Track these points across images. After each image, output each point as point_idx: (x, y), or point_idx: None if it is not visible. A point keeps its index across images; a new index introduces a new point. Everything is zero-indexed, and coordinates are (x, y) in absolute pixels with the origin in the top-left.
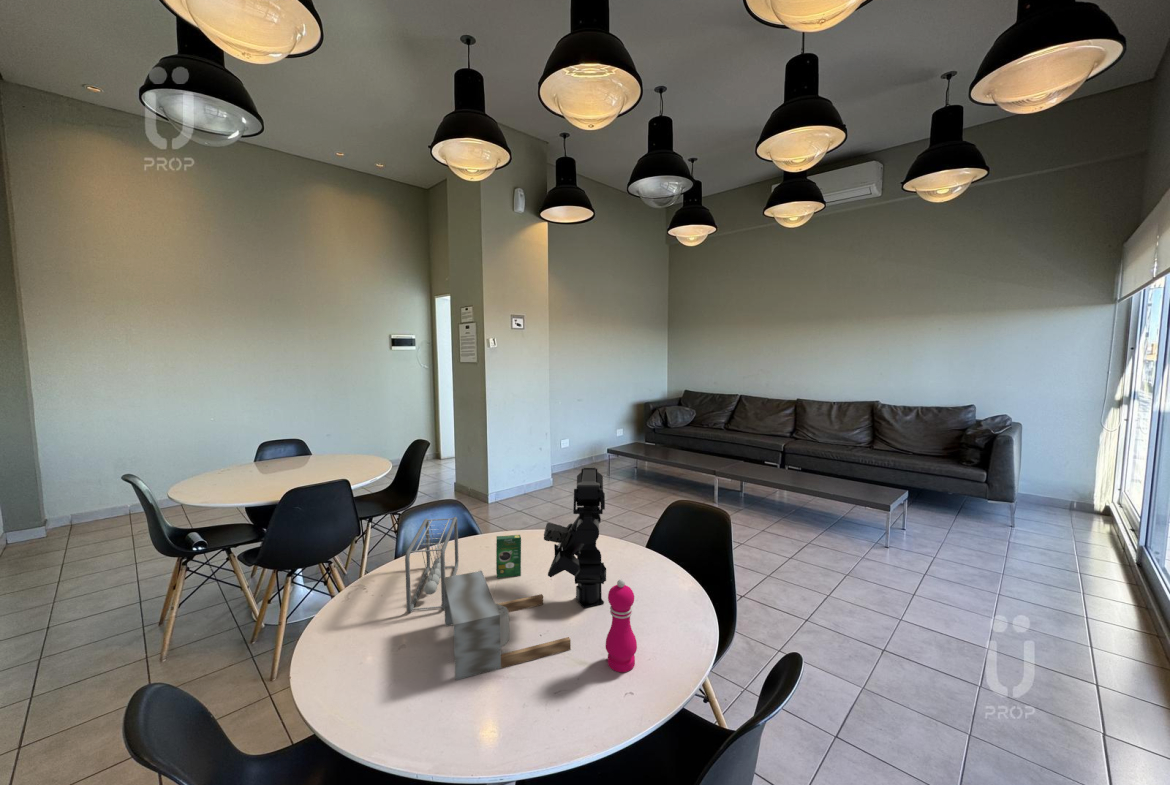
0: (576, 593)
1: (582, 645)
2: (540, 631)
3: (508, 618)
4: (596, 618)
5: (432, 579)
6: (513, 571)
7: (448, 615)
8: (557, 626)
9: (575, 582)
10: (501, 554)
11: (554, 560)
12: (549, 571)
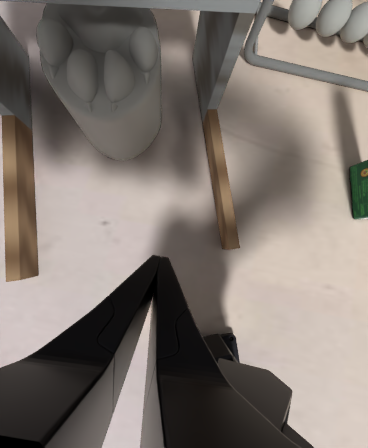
0: (221, 342)
1: (31, 307)
2: (118, 224)
3: (97, 131)
4: (129, 367)
5: (330, 3)
6: (364, 199)
7: (197, 41)
8: (125, 265)
9: (218, 363)
10: None
11: (156, 330)
12: (147, 266)
